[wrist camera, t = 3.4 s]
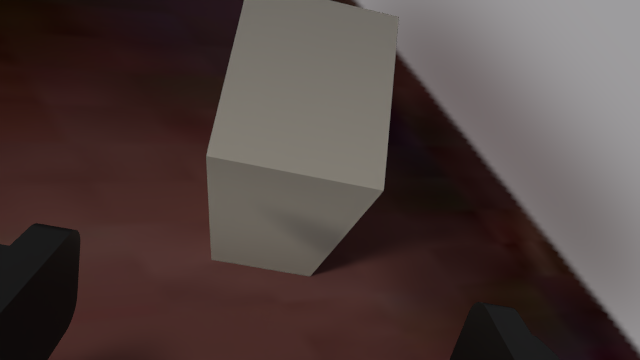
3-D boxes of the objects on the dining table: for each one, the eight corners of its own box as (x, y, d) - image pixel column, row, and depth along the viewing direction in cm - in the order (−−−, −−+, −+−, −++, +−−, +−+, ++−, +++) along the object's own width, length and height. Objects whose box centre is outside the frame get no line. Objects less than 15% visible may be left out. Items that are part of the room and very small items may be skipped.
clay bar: (310, 276, 20) (383, 190, 11) (211, 259, 20) (206, 155, 11) (325, 165, 22) (399, 17, 13) (235, 147, 22) (248, -19, 13)
